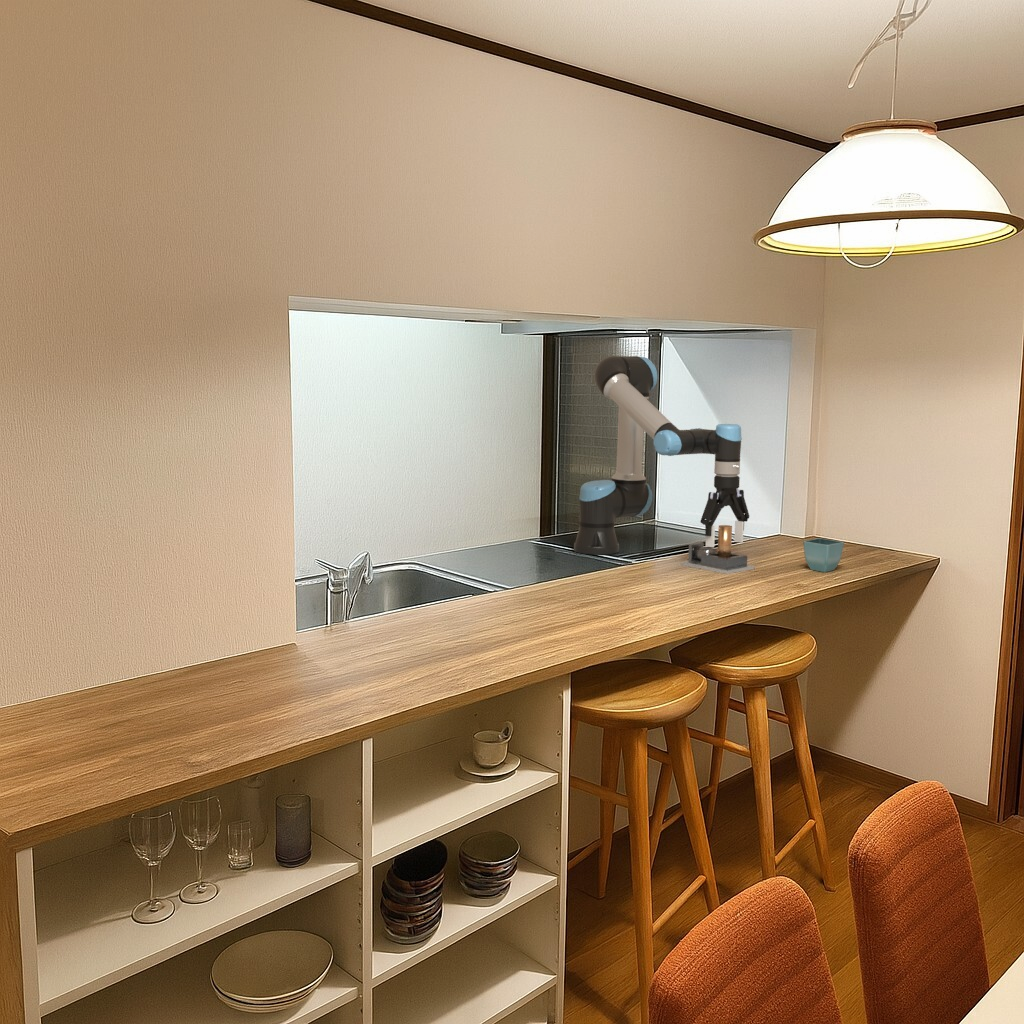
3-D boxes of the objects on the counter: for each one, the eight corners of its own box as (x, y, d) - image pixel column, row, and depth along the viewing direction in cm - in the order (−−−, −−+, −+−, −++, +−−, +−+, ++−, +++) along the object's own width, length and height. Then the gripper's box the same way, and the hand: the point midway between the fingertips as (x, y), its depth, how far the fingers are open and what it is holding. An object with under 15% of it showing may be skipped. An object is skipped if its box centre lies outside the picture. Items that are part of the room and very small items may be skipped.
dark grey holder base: (680, 564, 305) (680, 545, 304) (707, 559, 313) (708, 541, 312) (726, 573, 290) (727, 553, 290) (754, 568, 298) (755, 549, 298)
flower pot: (826, 574, 290) (828, 544, 289) (801, 570, 297) (802, 540, 296) (843, 571, 296) (844, 541, 295) (817, 566, 303) (819, 538, 301)
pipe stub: (714, 564, 300) (715, 525, 298) (722, 563, 302) (724, 524, 300) (725, 566, 297) (726, 527, 295) (733, 564, 299) (734, 526, 297)
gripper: (709, 478, 285) (707, 550, 288) (762, 473, 300) (759, 541, 303) (690, 476, 291) (687, 546, 294) (743, 471, 306) (740, 538, 309)
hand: (724, 544), depth 299 cm, fingers open, 13 cm apart
